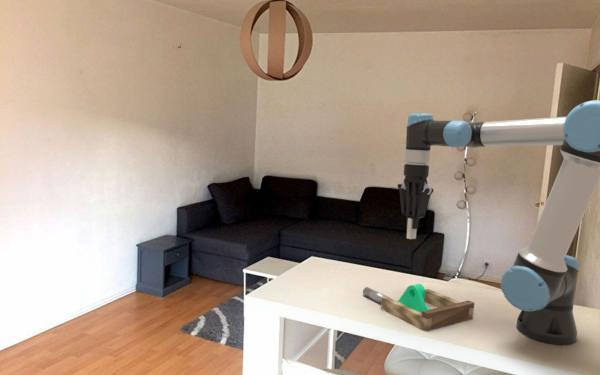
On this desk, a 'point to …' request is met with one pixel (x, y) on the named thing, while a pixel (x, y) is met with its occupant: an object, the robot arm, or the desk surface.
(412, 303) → the camera mount
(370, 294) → the shaft stub
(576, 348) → the desk surface
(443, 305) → the u-shaped wooden frame
